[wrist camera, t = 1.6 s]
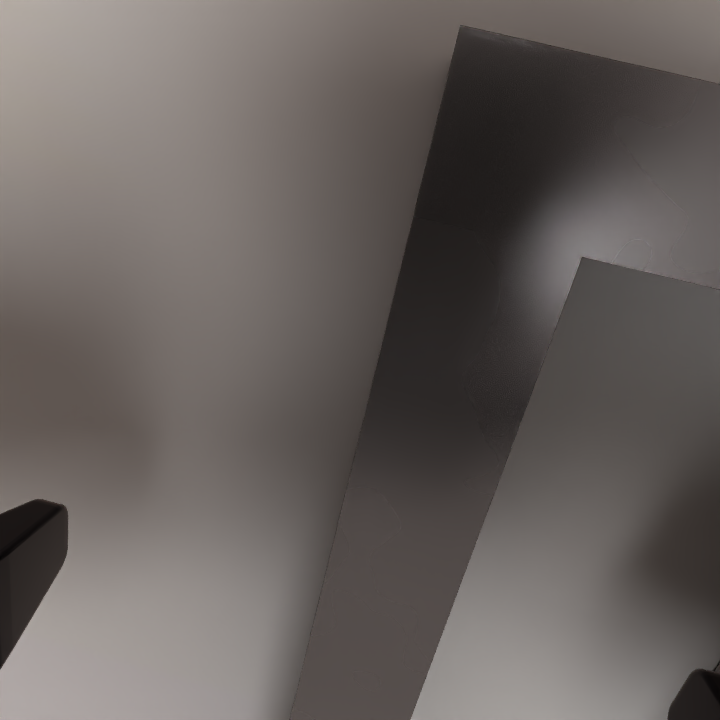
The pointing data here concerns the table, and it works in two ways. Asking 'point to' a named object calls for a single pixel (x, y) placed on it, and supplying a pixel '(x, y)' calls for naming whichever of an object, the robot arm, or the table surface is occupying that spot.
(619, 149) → the grey frame
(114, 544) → the table surface
